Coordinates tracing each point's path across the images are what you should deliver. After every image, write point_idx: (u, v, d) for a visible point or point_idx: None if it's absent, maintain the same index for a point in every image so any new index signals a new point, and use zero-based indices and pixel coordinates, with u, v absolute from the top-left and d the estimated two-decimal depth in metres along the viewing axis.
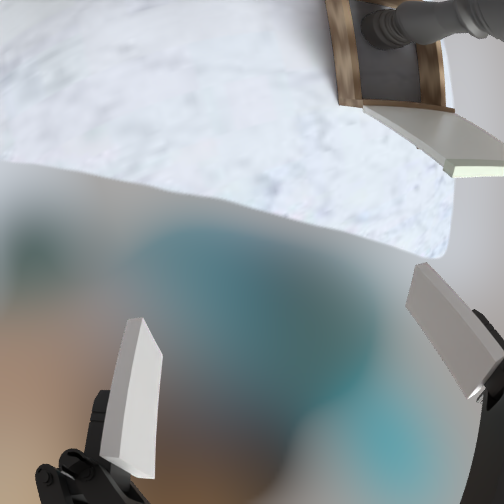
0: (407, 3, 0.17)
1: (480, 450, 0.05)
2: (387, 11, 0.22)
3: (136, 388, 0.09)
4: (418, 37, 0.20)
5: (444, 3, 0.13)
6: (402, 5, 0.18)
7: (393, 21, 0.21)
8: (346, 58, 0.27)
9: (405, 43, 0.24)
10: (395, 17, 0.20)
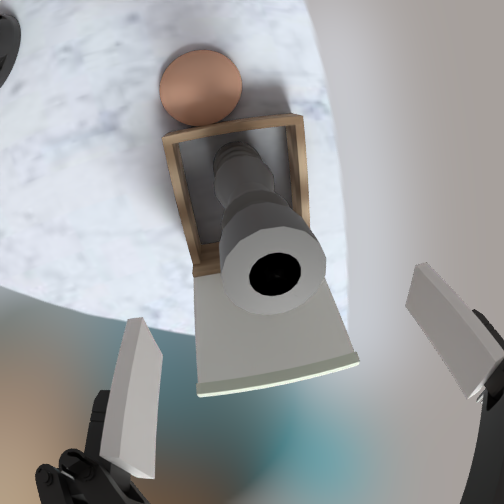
0: (220, 173, 0.26)
1: (480, 450, 0.05)
2: (224, 159, 0.30)
3: (136, 388, 0.09)
4: None
5: (231, 201, 0.22)
6: (217, 174, 0.27)
7: None
8: None
9: None
10: None
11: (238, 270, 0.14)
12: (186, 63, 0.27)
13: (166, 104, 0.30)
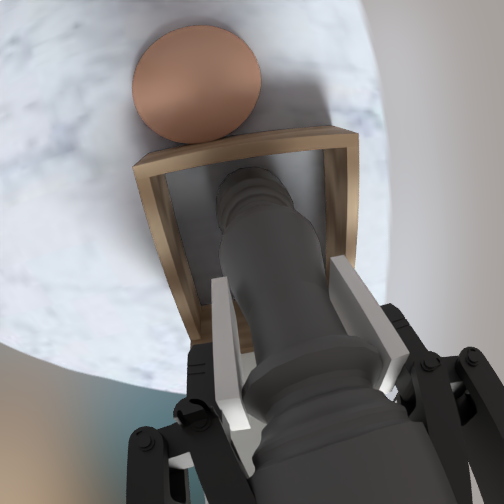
0: (231, 240, 0.15)
1: None
2: (235, 201, 0.19)
3: (234, 337, 0.11)
4: None
5: (259, 329, 0.11)
6: (225, 240, 0.16)
7: None
8: None
9: None
10: None
11: None
12: (173, 46, 0.16)
13: (142, 110, 0.19)
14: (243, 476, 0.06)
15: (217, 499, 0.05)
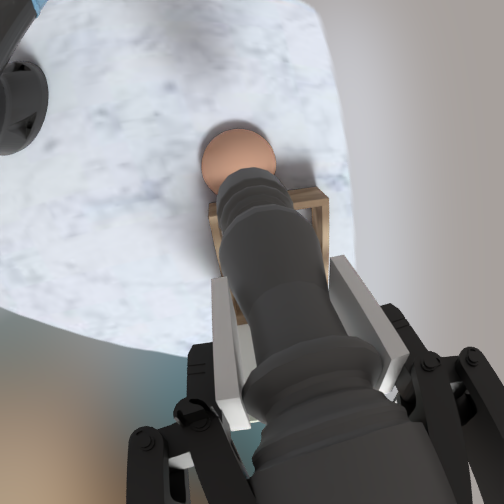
0: (231, 241, 0.15)
1: None
2: (235, 202, 0.19)
3: (234, 337, 0.11)
4: None
5: (259, 330, 0.11)
6: (225, 241, 0.16)
7: None
8: None
9: None
10: None
11: None
12: (226, 142, 0.35)
13: (208, 180, 0.37)
14: (243, 476, 0.06)
15: (217, 499, 0.05)
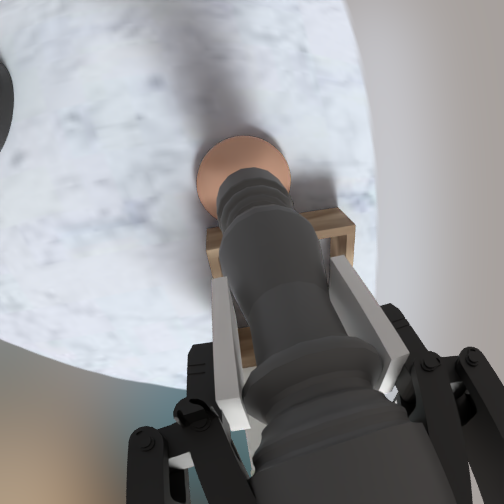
0: (231, 241, 0.15)
1: None
2: (235, 202, 0.19)
3: (234, 337, 0.11)
4: None
5: (259, 330, 0.11)
6: (225, 241, 0.16)
7: None
8: None
9: None
10: None
11: None
12: (228, 153, 0.27)
13: (205, 201, 0.30)
14: (243, 476, 0.06)
15: (217, 499, 0.05)
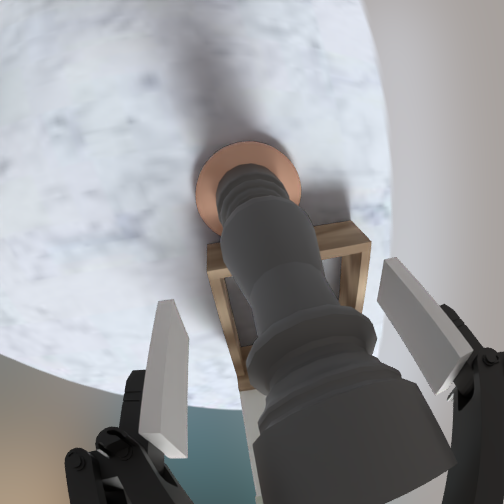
0: (232, 229, 0.16)
1: (456, 451, 0.06)
2: (234, 195, 0.20)
3: (171, 366, 0.10)
4: None
5: (260, 306, 0.12)
6: (226, 230, 0.17)
7: None
8: None
9: None
10: None
11: None
12: (231, 161, 0.24)
13: (205, 215, 0.27)
14: (171, 500, 0.05)
15: None
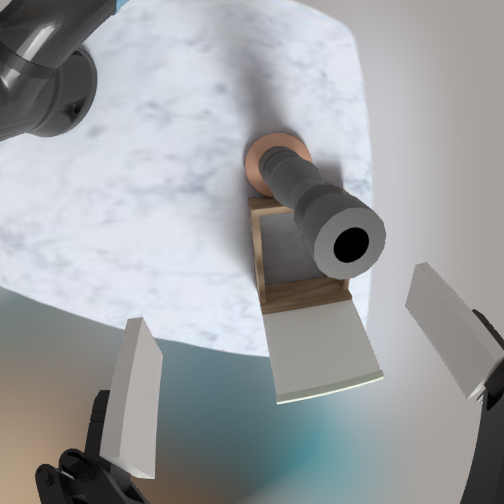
0: (278, 170, 0.30)
1: (480, 450, 0.05)
2: (275, 160, 0.35)
3: (136, 388, 0.09)
4: None
5: (297, 193, 0.26)
6: (275, 171, 0.31)
7: None
8: None
9: None
10: None
11: (328, 239, 0.18)
12: (269, 144, 0.39)
13: (250, 177, 0.41)
14: None
15: None
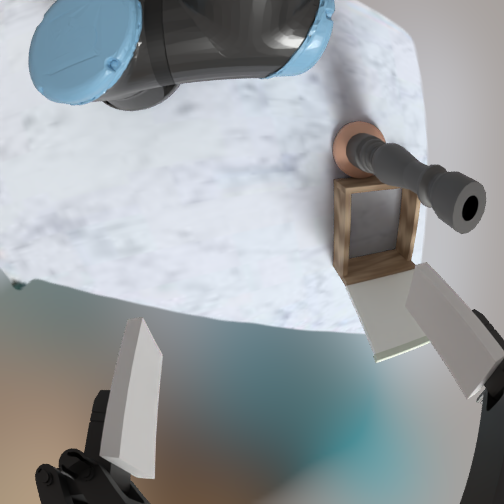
0: (384, 153, 0.32)
1: (480, 450, 0.05)
2: (369, 144, 0.37)
3: (136, 388, 0.09)
4: (388, 184, 0.35)
5: (412, 171, 0.28)
6: (380, 154, 0.33)
7: (371, 161, 0.36)
8: (341, 247, 0.49)
9: None
10: (372, 162, 0.35)
11: (460, 203, 0.21)
12: (355, 130, 0.41)
13: (339, 159, 0.43)
14: None
15: None
